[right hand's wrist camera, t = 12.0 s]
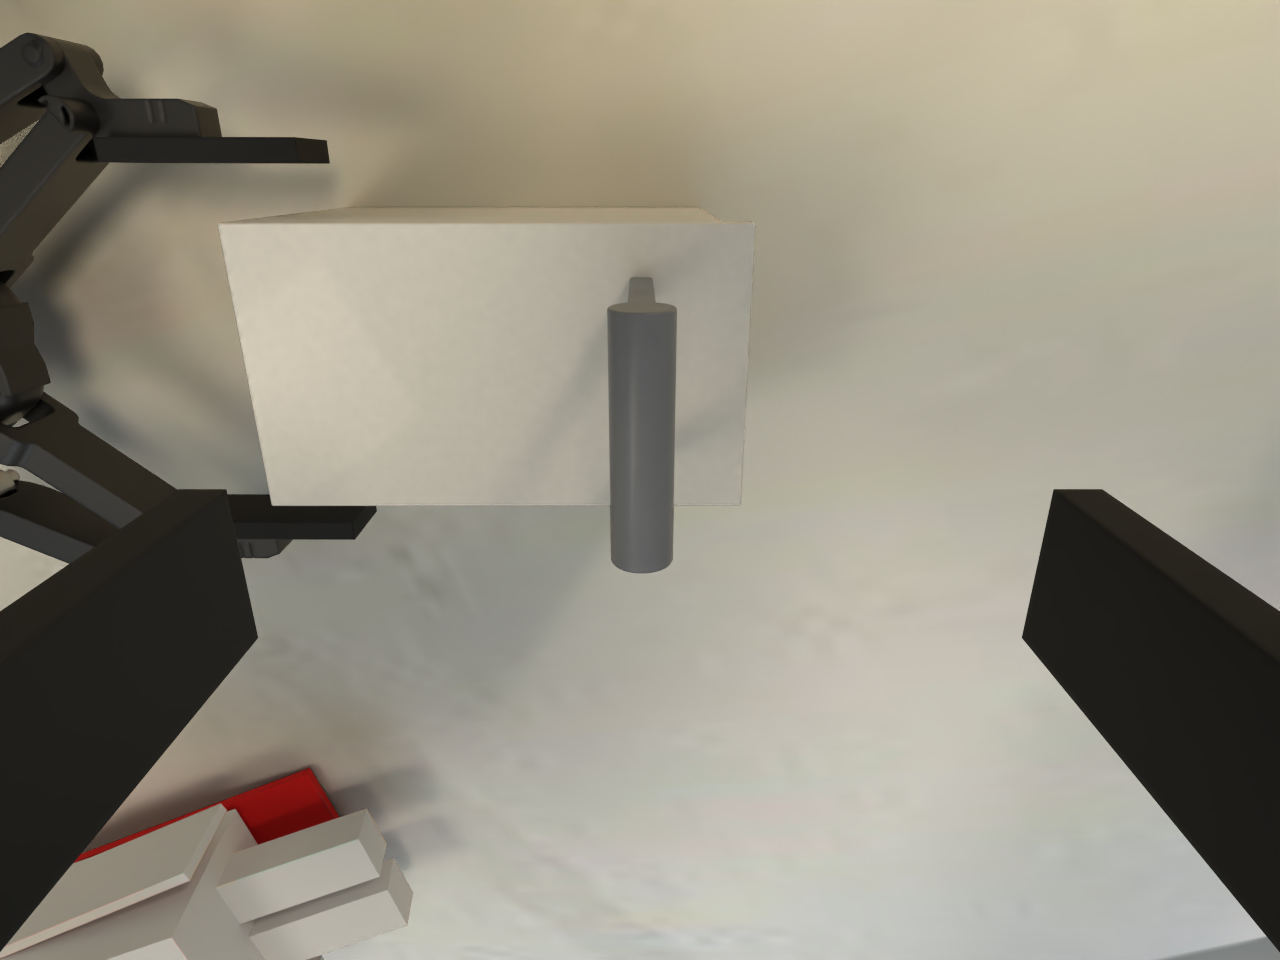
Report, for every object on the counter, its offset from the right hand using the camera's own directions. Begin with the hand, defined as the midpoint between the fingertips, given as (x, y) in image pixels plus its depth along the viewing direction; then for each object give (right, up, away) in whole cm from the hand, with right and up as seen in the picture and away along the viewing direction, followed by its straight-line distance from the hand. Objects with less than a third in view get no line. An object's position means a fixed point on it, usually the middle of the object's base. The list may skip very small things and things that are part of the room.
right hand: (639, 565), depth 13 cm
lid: (-5, +5, +13) cm, 14 cm away
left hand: (-11, +6, +16) cm, 21 cm away
